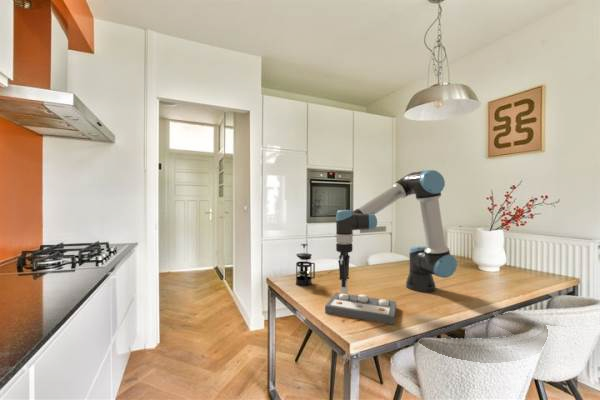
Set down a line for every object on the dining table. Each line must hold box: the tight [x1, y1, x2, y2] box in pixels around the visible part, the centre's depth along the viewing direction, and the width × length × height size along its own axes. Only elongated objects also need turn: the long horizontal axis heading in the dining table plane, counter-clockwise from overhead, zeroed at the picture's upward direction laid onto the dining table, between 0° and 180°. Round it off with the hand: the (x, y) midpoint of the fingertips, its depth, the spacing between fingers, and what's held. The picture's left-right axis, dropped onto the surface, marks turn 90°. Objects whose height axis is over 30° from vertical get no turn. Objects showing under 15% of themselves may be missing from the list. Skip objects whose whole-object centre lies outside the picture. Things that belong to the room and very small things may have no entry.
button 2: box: [379, 298, 389, 306], centre depth 120 cm, size 4×4×3 cm
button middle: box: [357, 293, 369, 303], centre depth 123 cm, size 4×4×3 cm
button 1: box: [339, 293, 348, 300], centre depth 127 cm, size 4×4×3 cm
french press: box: [295, 243, 316, 287], centre depth 157 cm, size 12×9×23 cm
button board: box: [324, 292, 397, 325], centre depth 120 cm, size 28×18×4 cm, turn 67°
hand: (344, 293), depth 127 cm, fingers closed
